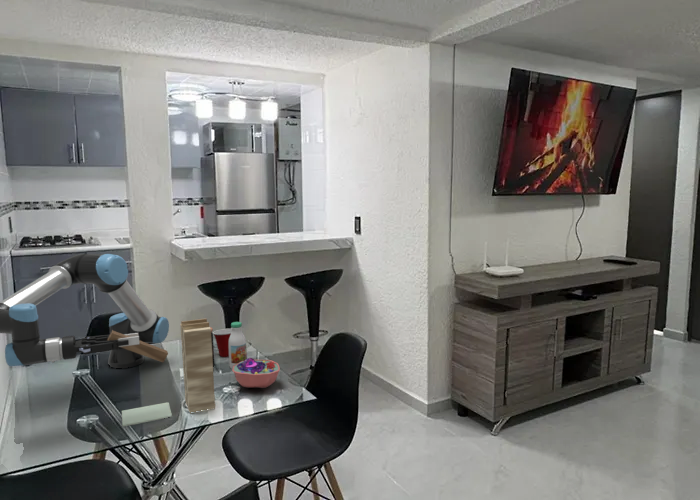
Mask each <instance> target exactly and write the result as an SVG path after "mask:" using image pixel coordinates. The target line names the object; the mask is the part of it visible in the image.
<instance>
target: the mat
mask: <svg viewBox="0 0 700 500" xmlns="http://www.w3.org/2000/svg"><path fill="white" fill-rule="evenodd" d="M168 417H170V418H173V414H172V411H171V406H170V403H169V401H168V402H162V403H157V404H156V403H155V404H150V405H145V406H140V407H135V408H130V409H125V410H121V421H122V423H121V425H122V428H124V427H128V426H134V425H139V424H144V423H149V422H154V421H159V420H164V418H165V419H169V418H168Z"/></svg>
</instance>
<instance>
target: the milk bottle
mask: <svg viewBox="0 0 700 500" xmlns="http://www.w3.org/2000/svg"><path fill="white" fill-rule="evenodd" d="M242 325H243V323H242V322H241V321H233V322H231V324H230V329H232V332H231V335H230V337H229V356H228V363H229V368H230V369H231V370H232V369H233V366H234V365H236V364H237V363H239V362H241V361H245V360H246V359H247V358H248V356H247V355H248V352H247V339H246V336H245V335H244V333H243V330H242V328H243V326H242Z"/></svg>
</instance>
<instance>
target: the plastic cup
mask: <svg viewBox="0 0 700 500" xmlns="http://www.w3.org/2000/svg"><path fill="white" fill-rule="evenodd" d="M231 332H232V328H222V329H217V330H214V331H212V333H213V337H214V339H215V343H216V347H217V351H218V353H219V356H220V357H222V358H227V357H228V358H229V337H230V335H231Z"/></svg>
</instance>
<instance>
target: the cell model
mask: <svg viewBox="0 0 700 500" xmlns="http://www.w3.org/2000/svg"><path fill="white" fill-rule="evenodd" d="M280 369H281V367H280V365H279V363H278V362H275V361H274V360H271V359H255V358H253V357H247V359H246V360H245V361H241V362H239V363H237V364H236V365H234V366H233V369H231V370H232V372H233V375H234V377H235V380H236V381H237V382H238V384H239V385H240V386H242V387H244V388H248V389H249V388H250V389H251V388H259V389H266V388H268V387H270V386H271V385H272V384H274V383H275V382H276V380H277V378H278V375H279V373H280V371H281V370H280Z"/></svg>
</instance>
